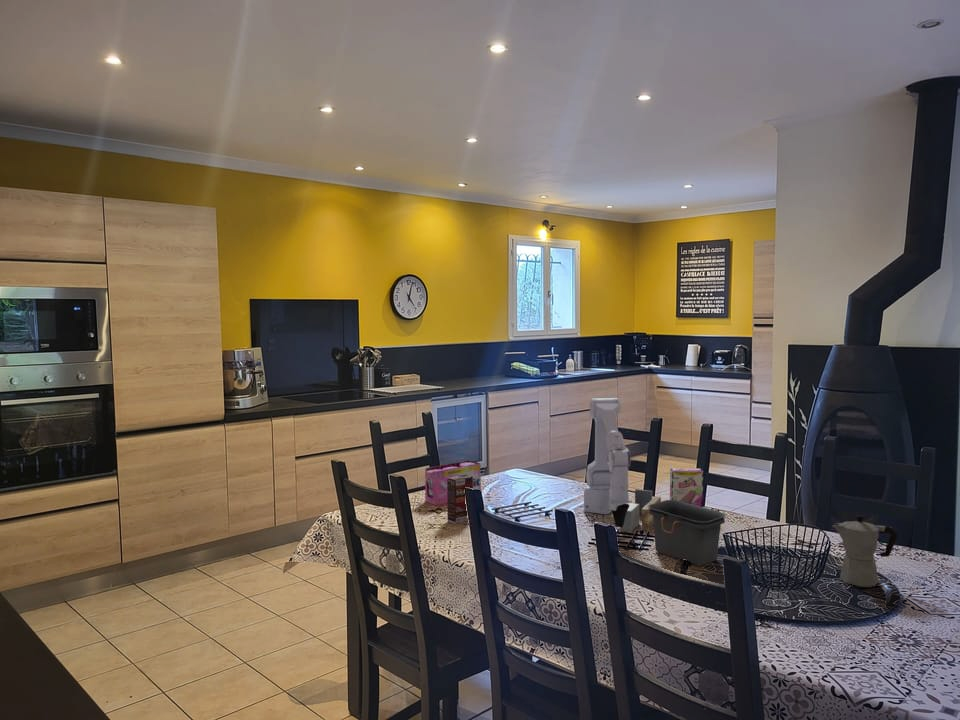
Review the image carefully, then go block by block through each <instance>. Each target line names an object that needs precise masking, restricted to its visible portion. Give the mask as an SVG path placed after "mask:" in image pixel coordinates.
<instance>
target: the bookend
mask: <svg viewBox="0 0 960 720" xmlns="http://www.w3.org/2000/svg"><path fill="white" fill-rule="evenodd" d="M652 499H653V490H647V489H639V488H637V489H636V488H635V489H634V504H639V514H642V508H643V507H644V506H646V505H647V504H648V503H649V502H650V501H651V500H652Z"/></svg>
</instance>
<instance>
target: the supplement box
mask: <svg viewBox="0 0 960 720" xmlns="http://www.w3.org/2000/svg"><path fill="white" fill-rule="evenodd" d="M465 487H470V488H473V477H472V476H469V475H461V476H456V477H451V478H447V503H446V504H447V522H448V523H450V524H454V525H457V524H460V523H462V524H463V523H466V522H468V518H467V511H466V504H465V493H464V489H465Z"/></svg>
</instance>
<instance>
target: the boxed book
mask: <svg viewBox="0 0 960 720" xmlns="http://www.w3.org/2000/svg"><path fill="white" fill-rule="evenodd" d="M626 504H629V508H628V510H627V513H626V516H625V520H624V525H623V527H619V531H622V530H623V531H624V532H629V531H631V532H632V531H633V530H635V529H636V528H637V527H638V526H639V525H638V524H640V515H639V504H635V502H631V503H626ZM637 525H638V526H637ZM636 526H637V527H636ZM635 527H636V528H635ZM634 528H635V529H634ZM623 531H622V532H623Z"/></svg>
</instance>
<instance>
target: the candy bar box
mask: <svg viewBox="0 0 960 720" xmlns="http://www.w3.org/2000/svg"><path fill="white" fill-rule="evenodd" d="M703 498H704V470H702V468H688V467H687V468H686V467H685V468H684V467H670V468H669V500H677V501H681V502H685V503H689V504H692V505H696V506H700V507H703V508H704V504H703V503H704V499H703Z"/></svg>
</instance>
